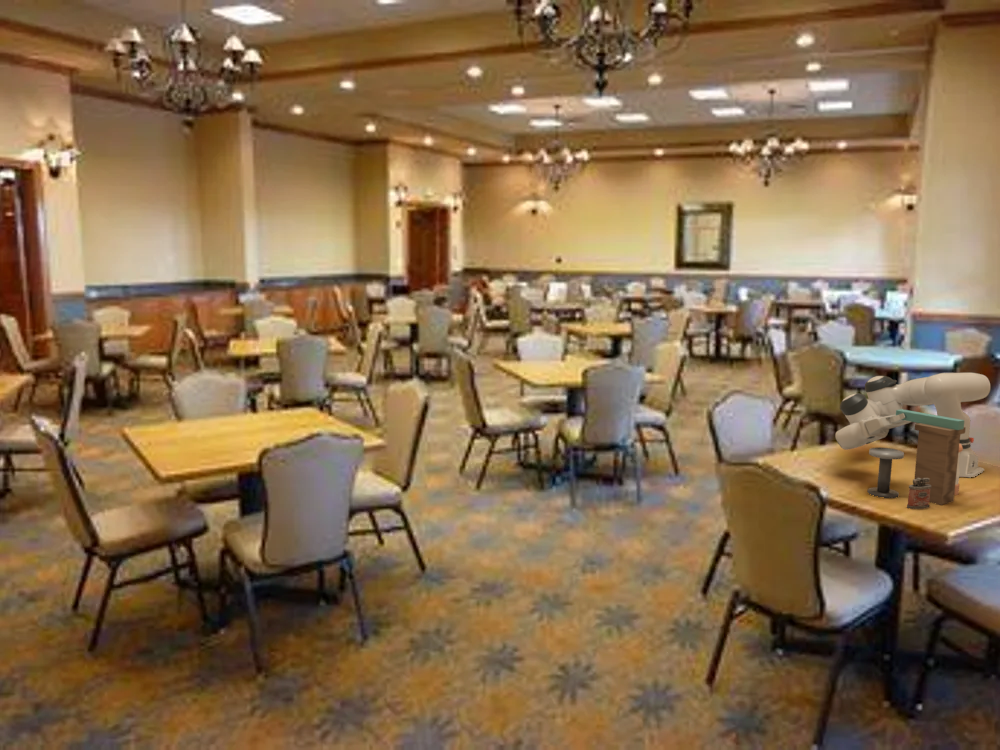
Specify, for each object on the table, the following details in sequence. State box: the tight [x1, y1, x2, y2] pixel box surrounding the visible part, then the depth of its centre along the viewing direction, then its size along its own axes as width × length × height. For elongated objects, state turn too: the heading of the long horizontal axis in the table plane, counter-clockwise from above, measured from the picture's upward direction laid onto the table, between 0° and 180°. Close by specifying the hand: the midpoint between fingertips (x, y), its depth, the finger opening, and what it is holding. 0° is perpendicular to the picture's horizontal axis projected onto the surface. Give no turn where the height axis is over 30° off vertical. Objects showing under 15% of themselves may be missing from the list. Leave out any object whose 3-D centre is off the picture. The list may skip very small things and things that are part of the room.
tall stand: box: [914, 423, 966, 506], centre depth 288 cm, size 10×12×26 cm
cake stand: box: [867, 447, 905, 499], centre depth 295 cm, size 11×11×16 cm
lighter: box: [906, 478, 931, 510], centre depth 281 cm, size 8×3×10 cm, turn 105°
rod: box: [896, 408, 964, 430], centre depth 289 cm, size 4×22×3 cm, turn 34°
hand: (908, 414), depth 295 cm, fingers closed on rod, 3 cm apart
